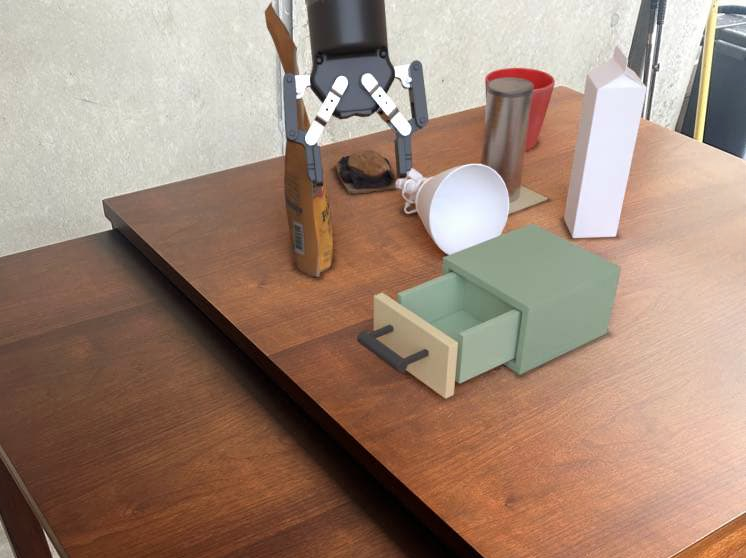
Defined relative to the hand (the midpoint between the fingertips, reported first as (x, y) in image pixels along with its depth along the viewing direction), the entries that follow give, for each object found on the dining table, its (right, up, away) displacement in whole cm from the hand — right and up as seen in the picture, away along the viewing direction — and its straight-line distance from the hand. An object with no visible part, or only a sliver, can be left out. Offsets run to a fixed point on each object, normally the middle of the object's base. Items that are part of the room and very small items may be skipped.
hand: (361, 182), depth 88 cm
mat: (+21, +14, +38) cm, 46 cm away
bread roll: (+2, +19, +45) cm, 49 cm away
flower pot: (+26, +28, +53) cm, 65 cm away
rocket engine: (+13, +7, +32) cm, 35 cm away
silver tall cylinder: (+21, +14, +38) cm, 46 cm away
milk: (+32, +6, +31) cm, 45 cm away
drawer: (+9, -17, +7) cm, 20 cm away
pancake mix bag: (-7, +3, +29) cm, 29 cm away
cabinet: (+19, -12, +13) cm, 26 cm away
